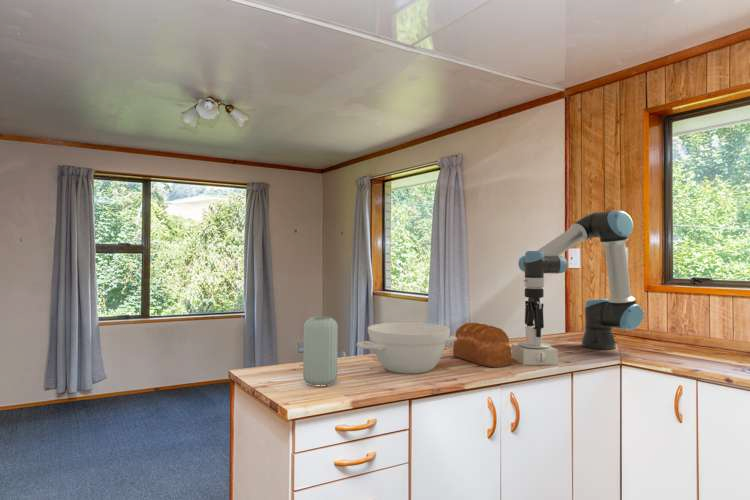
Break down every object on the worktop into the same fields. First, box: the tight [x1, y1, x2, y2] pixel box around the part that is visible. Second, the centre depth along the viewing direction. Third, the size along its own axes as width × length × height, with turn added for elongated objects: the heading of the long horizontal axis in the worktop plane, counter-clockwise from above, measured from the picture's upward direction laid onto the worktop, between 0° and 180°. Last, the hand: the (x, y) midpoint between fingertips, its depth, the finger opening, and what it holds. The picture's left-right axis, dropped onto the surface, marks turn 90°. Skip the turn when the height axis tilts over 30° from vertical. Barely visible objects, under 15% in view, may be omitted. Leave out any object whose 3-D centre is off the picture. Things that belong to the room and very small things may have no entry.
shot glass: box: [524, 325, 543, 345], centre depth 205 cm, size 7×7×7 cm
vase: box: [302, 316, 339, 386], centre depth 167 cm, size 12×12×22 cm
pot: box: [356, 321, 457, 375], centre depth 190 cm, size 44×32×16 cm
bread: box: [452, 322, 513, 368], centre depth 206 cm, size 14×26×16 cm, turn 25°
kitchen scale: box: [511, 340, 559, 366], centre depth 205 cm, size 15×14×7 cm
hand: (533, 343), depth 205 cm, fingers closed on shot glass, 7 cm apart
